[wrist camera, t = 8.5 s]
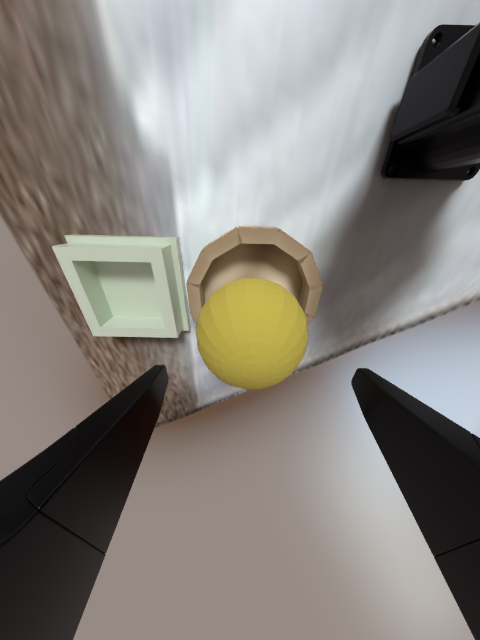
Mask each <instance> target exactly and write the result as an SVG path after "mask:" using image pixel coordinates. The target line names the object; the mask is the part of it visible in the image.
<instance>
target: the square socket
mask: <svg viewBox="0 0 480 640" xmlns="http://www.w3.org/2000/svg"><path fill="white" fill-rule="evenodd" d="M65 238H66V241H67V244H62V245H56V246H52V248H53V250H54V252H55V255H56V257H57V259H58V261H59V263H60V265H61V267H62V270H63V272H64V274H65V276H66V278H67V280H68V282H69V285H70V287H71V289H72V291H73V293H74V295H75V298H76V300H77V302H78V304H79V306H80V308H81V310H82V313H83V315H84V317H85V319H86V321H87V323H88V325H89V328H90V330H91V332H92V334H93V336H116V337H163V338H178V336H179V334H180V332H181V331H189V329H190V327H191V325H190V318H189V311H188V303H187V296H186V288H185V281H184V274H183V266H182V259H181V252H180V244H179V237H149V236H107V235H66V236H65Z"/></svg>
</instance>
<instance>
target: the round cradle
mask: <svg viewBox="0 0 480 640" xmlns="http://www.w3.org/2000/svg"><path fill="white" fill-rule="evenodd" d="M243 278H257V279H265V280H268V281H271V282H274V283H277V284H279V285H281V286H282V287H284V288H285V289H286V290H287V291H289V292H290V293H291V294H292V295H293V296H294V297H295V298H296V299H297V301H298V303H299V305H300V306H301V308H302V310H303V311H304V314H305V316H306V322H307V325H308V324H309V323H310V322H311V321H312V320H313V319H314V317H315V315H316V311H317V307H318V303H319V299H320V296H321V292H322V288H323V286H322V285H323V284H322V281H321V278H320V275H319V272H318V269H317V266H316V263H315V260H314V257H313V254H312V253H311V251H310V250H308V249H307V248H305V247H304V246H303V245H301V244H300V243H299V242H297V241H296V240H294V239H293V238H292V237H290V236H289V235H288V234H286V233H285V232H283V231H282V230H281V229H278V228H276V227H262V226H238V228H237V227H235V228H234V229H232V230H230V231H229V232H227V233H225V234H223V235H222V236H220V237H219V238H217V239H216V240H214V241H213V242H211V243H209V244H208V245H207V246H205V247H204V248H203V249H202V250H201V253H200V255H199V257H198V259H197V261H196V263H195V265H194V267H193V269H192V272H191V274H190V276H189V278H188V280H187V283H186V284H187V292H188V300H189V307H190V314H192V315H191V316H192V317H193V319H194V320H195V321H196V323H198V319H199V316H200V312H201V309H202V307H203V306H204V304H205V303H206V302H207V300H208V299H209V297H210V296H211V295H212V293H213V292H215V291H216V290H218V289H219V288H221V287H222V286H224V285H225V284H227V283H229V282H233V281H236V280H240V279H243Z"/></svg>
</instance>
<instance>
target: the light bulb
mask: <svg viewBox="0 0 480 640" xmlns="http://www.w3.org/2000/svg"><path fill="white" fill-rule="evenodd" d="M196 336H197V345H198V350H199V353H200V355H201V356H202V358H203V360H204V362H205V364H206V366H207V367H208V369H209V370H210V371H212V372H213V373H214V374H215V375H216V376H217V377H218V378H219V379H220V380H222V381H224V382H226V383H228V384H229V385H231V386H235V387H239V388H243V389H261V388H267V387H270V386H272V385H275V384H277V383H280V382H281V381H283V380H284V379H285V378H287V377H288V376H289V375H290V374H291V373H293V372H294V370H295V369H296V367H297V366H298V365H299V363H300V362H301V360H302V358H303V356H304V353H305V349H306V345H307V341H308V329H307V322H306V316H305V314H304V311H303V310H302V308H301V306H300V305H299V303H298V301H297V299H296V298H295V297H294V296H293V295H292V294H291V293H290V292H289V291H287V290H286V289H285V288H284V287H282V286H281V285H279V284H277V283H274V282H271V281H268V280H265V279H257V278H243V279H240V280H236V281H233V282H229V283H227V284H225V285H224V286H222V287H221V288H219V289H218V290H216V291H215V292H213V293H212V295H211V296H210V297H209V299H208V300H207V302H206V303H205V304H204V306H203V307H202V309H201V312H200V316H199V319H198V323H197V327H196Z"/></svg>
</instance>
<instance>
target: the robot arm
mask: <svg viewBox="0 0 480 640" xmlns="http://www.w3.org/2000/svg"><path fill="white" fill-rule="evenodd" d="M433 38H434V39H435V41H436V44H435V47H432V40H433ZM390 166H392V172H391V173H389V168H390ZM479 169H480V23H478V24H477V25H476V26H474V25H439V26H437V27H436V28H435V29H434V30H433V31H432V32H431V33H430V34H429V35H428V36H427V37H426V38H425V40H424V42H423V44H422V46H421V49H420V53H419V56H418V59H417V62H416V65H415V68H414V71H413V74H412V77H411V79H410V80H409V81H408V84H407V87H406V90H405V93H404V96H403V99H402V102H401V106H400V109H399V112H398V115H397V118H396V121H395V124H394V128H393V131H392V134H391V143H390V146H389V149H388V152H387V155H386V158H385V161H384V164H383V167H382V171H381V176H382V177H383V178H384V179H404V180H443V181H464V180H470V179H471V178H473V177H474V176H475V175H476V174H477V172H478V171H479ZM468 170H469V173H468V174H467V171H468ZM351 383H352V387H353V390H354V392H355V395H356V397H357V400H358V403H359V405H360V408H361V410H362V413H363V415H364V418H365V420H366V422H367V424H368V426H369V428H370V430H371V432H372V434H373V436H374V438H375V440H376V442H377V444H378V446H379V448H380V450H381V452H382V454H383V456H384V458H385V460H386V461H387V464H388V466H389V468H390V470H391V472H392V474H393V476H394V478H395V480H396V482H397V484H398V486H399V488H400V490H401V492H402V494H403V496H404V498H405V500H406V502H407V504H408V506H409V508H410V510H411V512H412V514H413V516H414V518H415V520H416V522H417V524H418V526H419V528H420V530H421V532H422V534H423V536H424V538H425V540H426V542H427V544H428V546H429V548H430V550H431V552H432V554H433V556H434V558H435V560H436V562H437V564H438V566H439V568H440V570H441V572H442V574H443V576H444V578H445V580H446V582H447V584H448V586H449V588H450V590H451V592H452V594H453V596H454V598H455V600H456V602H457V604H458V606H459V608H460V610H461V612H462V614H463V616H464V618H465V620H466V622H467V625H468V626H469V628H470V630H471V633H472V635H473V637H474V639H475V640H480V438H479V437H477V436H476V435H474V434H471V433H470V432H469V431H468V430H466V429H464V428H463V427H461V426H459V425H458V424H456V423H454V422H453V421H451V420H450V419H448V418H447V417H445V416H443V415H442V414H440V413H439V412H437V411H435V410H434V409H432V408H430V407H429V406H427V405H426V404H424V403H422V402H421V401H419V400H417V399H416V398H414V397H413V396H411V395H409V394H408V393H406V392H405V391H403V390H401V389H400V388H398V387H397V386H395V385H393V384H392V383H390V382H389V381H387V380H385V379H384V378H382V377H381V376H379V375H377V374H376V373H374V372H373V371H371V370H369V369H367V368H358V369H357V370H356V372H355V374H354V376H353V378H352V382H351ZM167 384H168V374H167V370H166V366H165V365H155V366H153V367H152V368H151V369H149V370H148V371H147V372H145V373H144V374H143V375H142V376H140V377H139V378H138V379H136V380H135V381H134V382H133V383H131V384H130V385H129V386H127V387H126V388H125V389H123V390H122V391H121V392H120V393H118V394H117V395H116V396H114V397H113V398H112V399H110V400H109V401H108V402H107V403H105V404H104V405H103V406H101V407H100V408H99V409H98V410H97V411H95V412H94V413H92V414H91V415H90V416H89V417H87V418H86V419H85V420H83V421H82V422H81V423H80V424H78V425H77V426H76V427H75V428H73V429H71V430H70V431H69V432H68V433H66V434H65V435H64V436H62V437H61V438H60V439H58V440H57V441H56V442H54V443H53V444H52V445H50V446H49V447H48V448H46V449H45V450H44V451H42V452H41V453H39V454H38V455H37V456H35V457H34V458H32V459H31V460H30V461H28V462H27V463H25V464H24V465H23V466H21V467H20V468H19V469H17V470H15V471H14V472H13V473H11V474H10V475H8V476H7V477H5V478H4V479H2V480H1V481H0V640H73V638H74V635H75V633H76V630H77V628H78V625H79V622H80V620H81V617H82V615H83V612H84V609H85V607H86V604H87V602H88V599H89V596H90V594H91V591H92V589H93V586H94V583H95V581H96V578H97V576H98V573H99V570H100V568H101V565H102V563H103V560H104V557H105V553H106V551H107V549H108V547H109V544H110V541H111V539H112V536H113V534H114V531H115V528H116V526H117V523H118V520H119V518H120V515H121V513H122V510H123V508H124V505H125V503H126V500H127V497H128V495H129V492H130V490H131V487H132V484H133V482H134V479H135V477H136V474H137V471H138V469H139V466H140V464H141V461H142V458H143V456H144V453H145V451H146V448H147V445H148V443H149V440H150V438H151V435H152V432H153V430H154V427H155V425H156V422H157V419H158V417H159V414H160V410H161V407H162V403H163V399H164V396H165V392H166V388H167Z"/></svg>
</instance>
